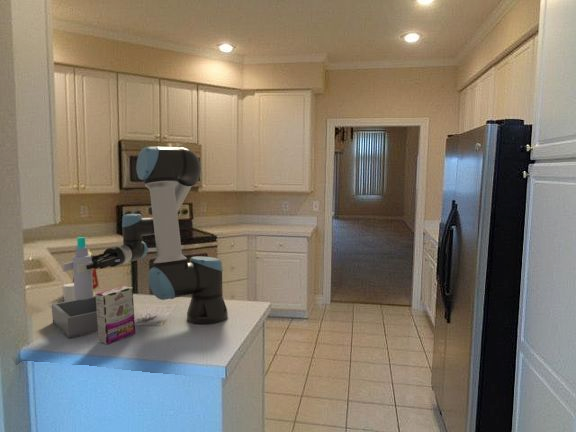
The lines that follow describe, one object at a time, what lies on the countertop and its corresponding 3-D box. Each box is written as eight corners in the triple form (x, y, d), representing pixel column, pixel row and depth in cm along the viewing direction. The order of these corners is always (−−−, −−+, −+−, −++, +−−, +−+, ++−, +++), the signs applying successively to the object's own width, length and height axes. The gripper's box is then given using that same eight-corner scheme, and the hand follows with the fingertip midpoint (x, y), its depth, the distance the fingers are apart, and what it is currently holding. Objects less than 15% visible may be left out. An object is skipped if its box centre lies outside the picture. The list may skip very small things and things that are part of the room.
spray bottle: (95, 295, 157) (92, 236, 155) (89, 300, 151) (86, 238, 149) (78, 295, 157) (75, 236, 154) (71, 300, 151) (68, 239, 148)
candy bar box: (126, 331, 149) (124, 285, 147) (135, 334, 146) (133, 287, 144) (97, 342, 139) (94, 292, 137) (106, 345, 137) (104, 295, 135)
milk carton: (88, 292, 196) (86, 249, 194) (70, 291, 197) (68, 248, 195) (100, 287, 204) (98, 246, 202) (83, 286, 206) (81, 245, 204)
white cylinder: (75, 297, 189) (74, 281, 188) (83, 299, 185) (82, 284, 184) (59, 300, 183) (58, 285, 182) (67, 303, 179) (66, 287, 178)
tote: (118, 326, 153) (117, 307, 152) (68, 338, 142) (67, 318, 141) (99, 312, 168) (98, 295, 167) (52, 322, 157) (51, 304, 156)
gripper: (137, 266, 167) (93, 281, 145) (98, 263, 173) (50, 277, 151) (136, 247, 166) (92, 259, 144) (97, 245, 172) (49, 256, 150)
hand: (70, 268), depth 148 cm, fingers closed on spray bottle, 6 cm apart
